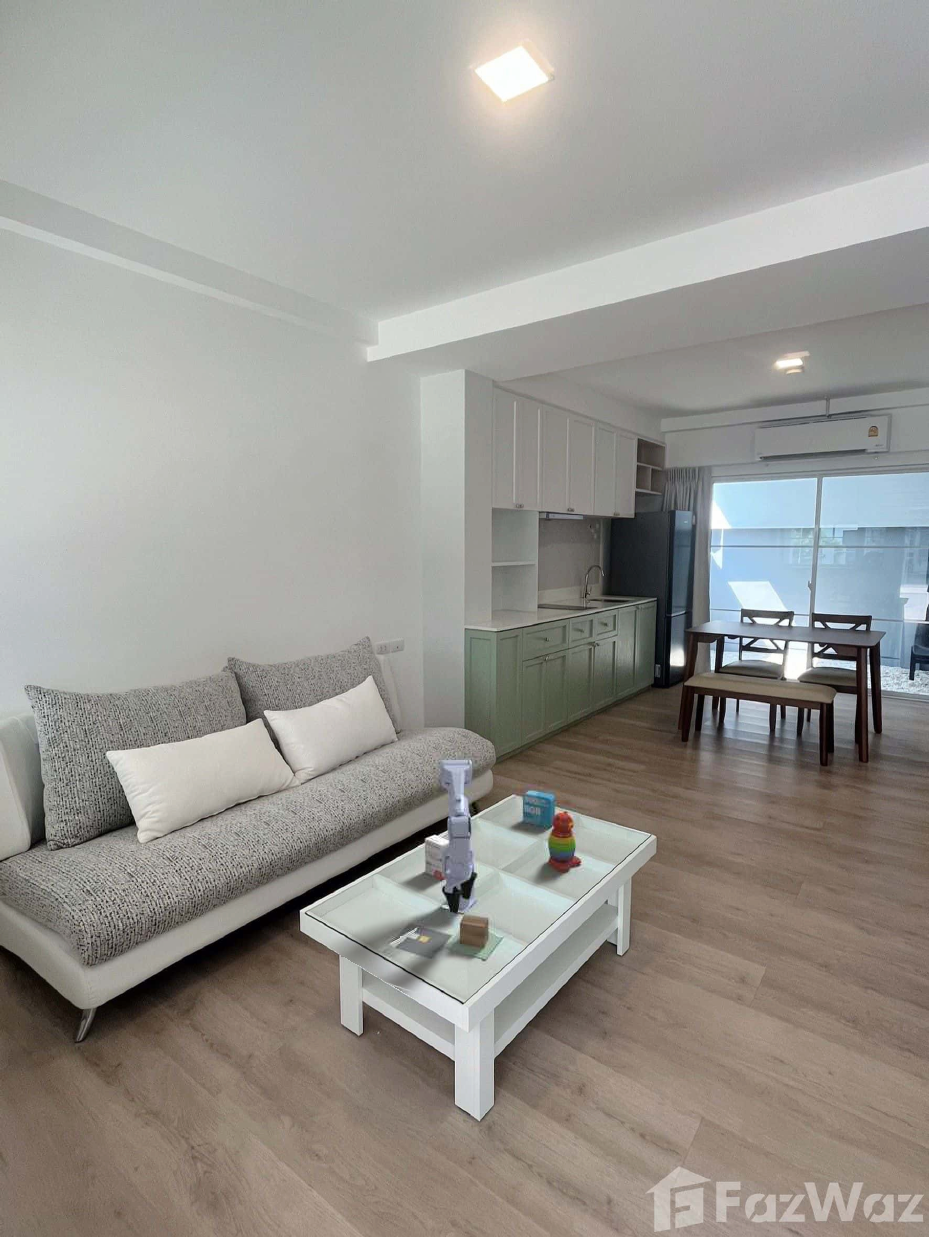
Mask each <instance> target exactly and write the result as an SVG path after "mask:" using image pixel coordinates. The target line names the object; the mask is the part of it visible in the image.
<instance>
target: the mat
mask: <svg viewBox="0 0 929 1237" xmlns="http://www.w3.org/2000/svg"><path fill="white" fill-rule="evenodd" d="M491 932H492V931H489V939H488V941H487V943H486V946H485V948H483V947H477V946H470V945H464V944H460V931H459V932H458V933H457V934H456V935H455V936H454V937H453V938H452V939H451V941H450V942H449V943H448V944H447V945H446V946H445V949H447V950H450V951H455V952H458V953H461V954H464V955H468V956H470V957H474V958H478V959H480V960H482V961H487V960H488V958H489V957H490V956H491V955H492V953H493V952H494V950H495V949H496V948H497V947H498V945H499V944H500V943H501V941H502V940H503V939H502V938H501V937H498V936H496V935H495V934H493V933H494V932H493V933H491ZM501 939H502V940H501Z"/></svg>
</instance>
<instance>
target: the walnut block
mask: <svg viewBox="0 0 929 1237" xmlns="http://www.w3.org/2000/svg"><path fill="white" fill-rule="evenodd" d="M489 924H490V922H489V917H485V916H478V915H470V914H466V913H465V914H463V915H462V918H461V919H460V922H459V932H460V944H464V945H470V946H477V947H483V948H485V946H486V943H487V941H488V939H489V932H490V931H489V929H490V928H489Z"/></svg>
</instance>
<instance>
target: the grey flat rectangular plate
mask: <svg viewBox="0 0 929 1237" xmlns="http://www.w3.org/2000/svg"><path fill="white" fill-rule="evenodd" d="M417 927H418V928H417ZM415 928H417V930H416V931H415V932H414V933H412V934H411V935H410V936H409V937H407V938H406V939H405V940H404V941H403V942H401V943H400V944H398V945H397V946H396V947H395V948H394V949H398V950H401V951H404V952H407V953H410V954H414V955H416V956H420V957H424V958H426V959H430V960H432V959H433V958H434V957H436V955H437V954H438V952H440V951H441V949H442V948H443V947H444V946H445V945H446V944H447V943H448V941H450V939H451V938H452V937H453V935H452V934H449V933H446V932H442V931H438V930H434V929H432V928H428V927H424V926H420V925H418V924H413V923H410V922H409V923H408V925H406V926H405V927H404V928H403V929H402V930H401V931H400V932H399V933H398V934H396V936H395V937H394V938H393V939H392V940H391V941H390V942H389V943H391V942H393V941H395V940H397V939H399V938H400V936H403V935H405V934H406V933H408V932H410V931H412V930H414V929H415Z"/></svg>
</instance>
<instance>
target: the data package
mask: <svg viewBox="0 0 929 1237" xmlns="http://www.w3.org/2000/svg"><path fill="white" fill-rule="evenodd" d="M555 815H556V797H555V795H553V794H551V793H546V792H541V791H535V790H530V789H529V790H528V791H527V792H525V793H524V794H523V795H522V820H523V822H524V823H526V824H529V825H530V824H531V825H533V824H534V825H535V826H538V827H539V826H540V827H543V826H545V827H544V828H550V827H551V826H553V817H554V816H555ZM534 825H533V826H534Z"/></svg>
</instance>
